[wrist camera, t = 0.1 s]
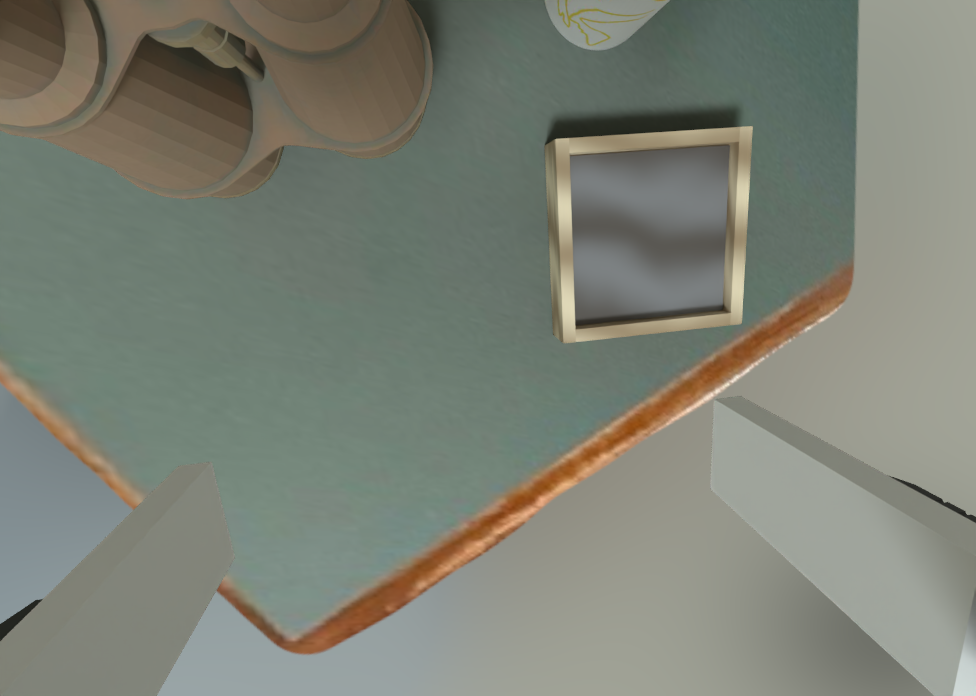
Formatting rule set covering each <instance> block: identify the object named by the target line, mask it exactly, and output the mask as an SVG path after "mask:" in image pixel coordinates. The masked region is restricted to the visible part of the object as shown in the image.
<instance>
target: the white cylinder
mask: <svg viewBox="0 0 976 696" xmlns="http://www.w3.org/2000/svg"><path fill="white" fill-rule="evenodd" d="M669 1H670V0H545V5H546V8H547V11H548V14H549V16H550V18H551V20H552V22H553V24H554V26H555V27H556V28H557V30H558V31H559V32H560V33H561V34H562V35H563V36H564V37H565V38H566V39H567V40H568V41H570V42H571V43H573V44H575V45H576V46H579V47H581V48H584V49H588V50H606V49H610V48H613V47H615V46H617V45H619V44H621V43H623V42H624V41H626V40H627V39H628V38H629V37H630V36H632V35H633V34H634V33H635V32H636V31H637V30H638V29H639V28H640V27H641V26H643V25H644V24H645V23H646V22H647V21H648V20H649V19H650V18H651V17H652V16H653V15H655V14H656V13H657V12H658V11H659V10H660V9H661V8H662V7H663V6H664V5H666V4H667V3H668V2H669Z"/></svg>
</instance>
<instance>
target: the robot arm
mask: <svg viewBox="0 0 976 696" xmlns="http://www.w3.org/2000/svg"><path fill="white" fill-rule="evenodd" d="M711 463H712V464H711V484H710V489H711V490H712V491H713V492H714V493H715V494H716V495H717V496H718V497H720V498H721V499H722V500H723V501H724V502H725V503H726V504H727V505H728V506H729V507H730V508H732V509H733V510H734V511H735V512H736V513H737V514H738V515H739V516H740V517H741V518H743V520H744V521H746V522H747V523H748V524H749V525H750V526H751V527H752V528H753V529H754V530H755V531H756V532H758V533H759V534H760V535H761V536H762V537H763V538H764V539H765V540H766V541H767V542H768V543H770V544H771V545H772V546H773V547H774V548H775V549H776V550H777V551H778V552H779V553H780V554H781V555H782V556H784V557H785V558H786V559H787V560H788V561H789V562H790V563H791V564H792V565H793V566H794V567H796V568H797V569H798V570H799V571H800V572H801V573H802V574H803V575H804V576H805V577H806V578H807V579H809V580H810V581H811V582H812V583H813V584H814V585H815V586H816V587H817V588H818V589H819V590H820V591H822V592H823V593H824V594H825V595H826V596H827V597H828V598H829V599H830V600H831V601H832V602H833V603H835V604H836V605H837V606H838V607H839V608H840V609H841V610H842V611H843V612H844V613H845V614H847V615H848V616H849V617H850V618H851V619H852V620H853V621H854V622H855V623H856V624H857V625H859V626H860V627H861V628H862V629H863V630H864V631H865V632H866V633H867V634H868V635H869V636H870V637H871V638H873V639H874V640H875V641H876V642H877V643H878V644H879V645H880V646H881V647H882V648H883V649H884V650H886V651H887V652H888V653H889V654H890V655H891V656H892V657H893V658H894V659H895V660H897V661H898V662H899V663H900V664H901V665H902V666H903V667H904V668H905V669H906V670H907V671H908V672H910V673H911V674H912V675H913V676H914V677H915V678H916V679H917V680H918V681H920V683H921V684H923V685H924V686H925V687H926V688H927V689H928V690H929V691H930V692H931V693H932V694H933V695H934V696H976V517H975V516H973V515H967V514H966V513H965V511H964V510H962V509H960V508H958V507H956V506H954V505H952V504H950V503H948V502H946V503H944V502H943V500H942V499H941V498H939V497H937V496H935V495H933V494H931V493H929V492H928V491H926V490H924V489H922V488H920V487H918V486H916V485H914V484H911V483H908V482H905V481H902V480H900V479H897V478H894V477H891V476H888V475H886V474H884V473H882V472H880V471H878V470H877V469H875V468H873V467H871V466H869V465H867V464H865V463H864V462H862V461H860V460H858V459H856V458H854V457H852V456H850V455H849V454H847V453H845V452H843V451H841V450H840V449H838V448H836V447H834V446H832V445H830V444H828V443H826V442H824V441H823V440H821V439H819V438H817V437H815V436H814V435H811V434H810V433H808V432H806V431H804V430H802V429H801V428H799V427H797V426H795V425H793V424H791V423H789V422H788V421H786V420H784V419H782V418H780V417H778V416H777V415H775V414H773V413H771V412H769V411H767V410H765V409H764V408H761V407H760V406H758V405H756V404H754V403H752V402H751V401H749V400H746V399H745V398H743V397H741V396H737V397H728V398H720V399H714V416H713V439H712V461H711ZM234 559H235V556H234V552H233V548H232V543H231V539H230V535H229V531H228V527H227V523H226V519H225V515H224V511H223V507H222V503H221V498H220V494H219V490H218V486H217V482H216V478H215V474H214V470H213V466H212V462H206V463H198V464H190V465H182V466H178V467H177V468H176V469H175V470H174V471H173V472H172V473H171V474H170V475H169V476H168V477H167V478H166V479H165V480H164V481H163V482H162V483H161V484H160V485H159V486H158V487H157V488H156V489H155V490H154V491H153V492H152V493H151V494H150V495H149V496H148V497H147V498H145V499H144V500H143V501H142V502H141V503H140V504H139V505H138V506H137V507H136V508H135V509H134V510H133V511H132V512H131V513H130V514H129V515H128V516H127V517H126V518H125V519H124V520H123V521H122V522H121V523H120V524H119V525H118V526H117V527H116V528H115V529H114V530H113V531H112V532H111V533H110V534H109V535H108V536H107V537H106V538H105V539H104V540H103V541H102V542H101V543H100V544H99V545H98V546H97V547H96V548H95V549H94V550H93V551H92V552H91V553H90V554H89V555H87V556H86V557H85V558H84V560H82V561H81V563H79V564H78V565H77V566H76V567H75V568H74V569H73V570H72V571H71V572H70V573H69V574H68V575H67V576H66V577H65V578H64V579H63V580H62V581H61V582H60V583H59V584H58V585H57V586H56V587H55V588H54V589H53V590H52V591H51V592H50V593H49V594H48V595H47V596H46V597H45V598H44V599H41V600H35V601H34V602H33V603H31V604H30V605H28V606H27V607H25V608H24V609H22V610H21V611H19V612H18V613H16V614H15V615H13V616H12V617H10V618H9V619H7V620H6V621H4V622H3V623H1V624H0V696H157V694H158V693H159V691H160V689H161V687H162V685H163V684H164V682H165V680H166V678H167V677H168V675H169V673H170V671H171V670H172V668H173V666H174V664H175V662H176V661H177V659H178V657H179V655H180V654H181V652H182V650H183V648H184V647H185V645H186V643H187V641H188V640H189V638H190V636H191V634H192V633H193V631H194V629H195V627H196V626H197V624H198V622H199V620H200V619H201V617H202V615H203V613H204V611H205V610H206V608H207V606H208V604H209V602H210V601H211V599H212V597H213V595H214V594H215V592H216V590H217V589H218V587H219V585H220V583H221V582H222V580H223V578H224V576H225V574H226V573H227V571H228V569H229V567H230V566H231V564H232V562H233V560H234Z"/></svg>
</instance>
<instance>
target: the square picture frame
mask: <svg viewBox="0 0 976 696" xmlns="http://www.w3.org/2000/svg"><path fill="white" fill-rule="evenodd" d="M752 128H753V126H748V127H732V128H717V129H701V130H686V131H670V132H655V133H640V134H624V135H609V136H593V137H578V138H562V139H555V140H553V141H551V142H550V143H548V144H547V145H545V165H546V187H547V209H548V231H549V253H550V275H551V297H552V319H553V335H554V336H556V337H557V338H558V339H559V340H560V341H561V342H563V343H571V342H580V341H589V340H599V339H608V338H617V337H626V336H635V335H644V334H653V333H663V332H672V331H681V330H690V329H699V328H708V327H717V326H727V325H736V324H742V309H743V291H744V273H745V255H746V237H747V219H748V201H749V183H750V165H751V146H752Z"/></svg>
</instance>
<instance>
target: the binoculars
mask: <svg viewBox="0 0 976 696" xmlns="http://www.w3.org/2000/svg"><path fill="white" fill-rule="evenodd" d="M432 73H433V61H432V55H431V48H430V41H429V39H428V36H427V34H426V31H425V29H424V26H423V24H422V21H421V19H420V17H419V16H418V14H417V13H416V12H415V10H414V9H413V7H412V6H411V4H410V3H409V2H408V0H0V131H3V132H6V133H8V134H11V135H16V136H24V137H31V138H38V139H43V140H46V141H48V142H50V143H53V144H55V145H58V146H60V147H62V148H65V149H67V150H70V151H72V152H74V153H77V154H79V155H82V156H84V157H86V158H89V159H91V160H94V161H96V162H99V163H101V164H103V165H106V166H108V167H111V168H113V169H114V170H115V171H116V172H117V173H118V174H120V175H121V176H123V177H124V178H126V179H127V180H129V181H130V182H132V183H133V184H135V185H136V186H138V187H139V188H142V189H145V190H147V191H150V192H153V193H155V194H158V195H161V196H165V197H173V198H181V199H193V198H200V197H208V196H211V197H219V198H231V197H238V196H243V195H245V194H248V193H250V192H252V191H255V190H257V189H258V188H259V187H261V186H262V185H263V184H264V183H265V182H267V181H268V180H269V179H270V177H271V176H272V174H273V173H274V171H275V170H276V168H277V167H278V165H279V162H280V159H281V155H282V152H283V146H289V145H295V146H304V147H312V148H321V149H329V150H335V151H338V152H340V153H342V154H345V155H347V156H350V157H356V158H363V159H371V158H378V157H384V156H386V155H388V154H391V153H393V152H395V151H397V150H399V149H400V148H401V147H402V146H404V145H405V144H406V143H407V142H408V141H410V139H411V138H412V136H413V135H414V134H415V132H416V131H417V129H418V128H419V126H420V123H421V120H422V118H423V115H424V112H425V106H426V103H427V100H428V97H429V94H430V91H431V85H432Z"/></svg>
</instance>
